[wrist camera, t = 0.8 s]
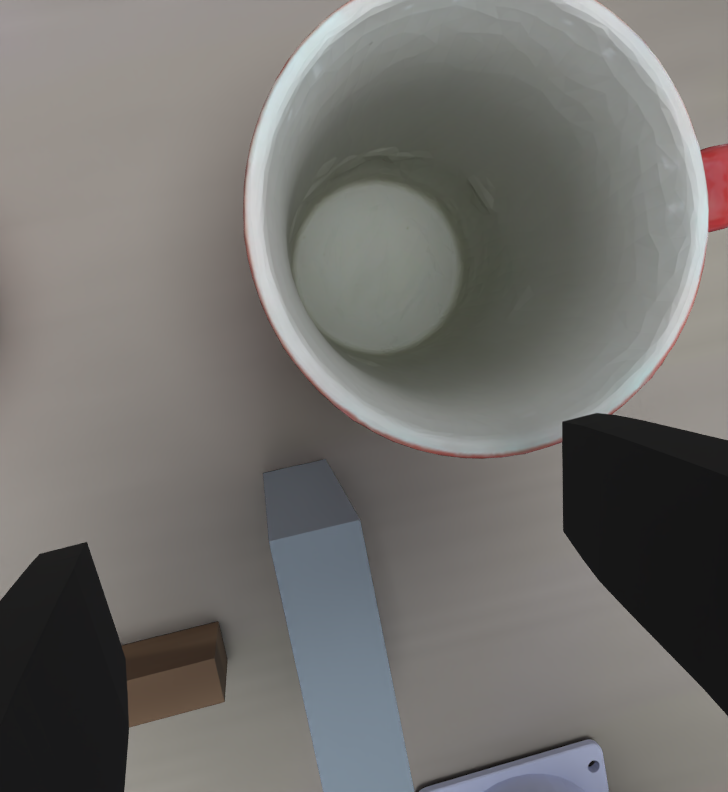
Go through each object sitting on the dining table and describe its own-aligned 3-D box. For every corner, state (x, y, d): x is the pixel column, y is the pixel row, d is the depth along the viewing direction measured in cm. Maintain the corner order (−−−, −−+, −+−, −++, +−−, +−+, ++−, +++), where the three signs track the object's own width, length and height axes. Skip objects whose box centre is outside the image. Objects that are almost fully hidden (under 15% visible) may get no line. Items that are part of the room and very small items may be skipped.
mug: (269, 412, 26) (288, 500, 13) (227, 163, 25) (201, -23, 12) (584, 359, 28) (889, 388, 15) (559, 125, 27) (862, -74, 13)
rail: (227, 660, 27) (224, 701, 24) (-106, 746, 25) (-155, 802, 22) (218, 621, 26) (214, 658, 24) (-119, 705, 25) (-169, 756, 22)
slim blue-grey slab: (370, 677, 28) (421, 829, 19) (310, 694, 27) (337, 855, 19) (325, 458, 27) (360, 519, 18) (262, 473, 26) (268, 541, 18)
